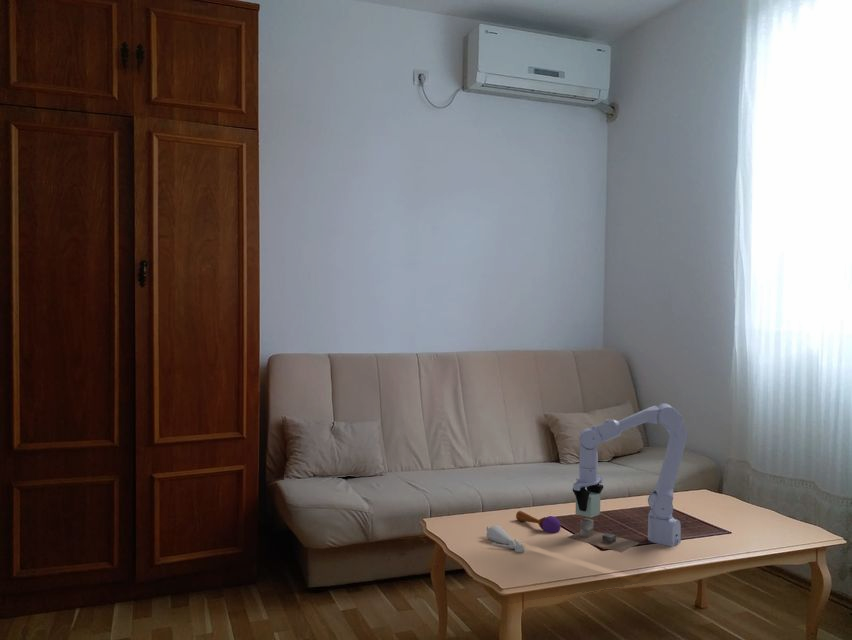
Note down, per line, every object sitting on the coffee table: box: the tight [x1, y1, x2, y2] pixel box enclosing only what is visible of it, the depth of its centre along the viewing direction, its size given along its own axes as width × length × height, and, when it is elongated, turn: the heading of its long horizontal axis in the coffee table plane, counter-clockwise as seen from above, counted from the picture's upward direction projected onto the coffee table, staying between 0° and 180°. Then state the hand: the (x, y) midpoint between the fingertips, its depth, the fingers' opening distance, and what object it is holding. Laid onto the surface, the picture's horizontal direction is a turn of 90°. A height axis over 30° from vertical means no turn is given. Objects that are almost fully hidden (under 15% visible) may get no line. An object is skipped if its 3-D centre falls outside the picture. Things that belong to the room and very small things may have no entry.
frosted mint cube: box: [575, 492, 601, 519], centre depth 226 cm, size 6×6×6 cm
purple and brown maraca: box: [515, 510, 562, 534], centre depth 237 cm, size 6×6×20 cm
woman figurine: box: [486, 524, 525, 554], centre depth 221 cm, size 12×4×18 cm
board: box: [567, 517, 641, 553], centre depth 222 cm, size 19×12×6 cm, turn 46°
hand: (587, 508), depth 226 cm, fingers closed on frosted mint cube, 6 cm apart
